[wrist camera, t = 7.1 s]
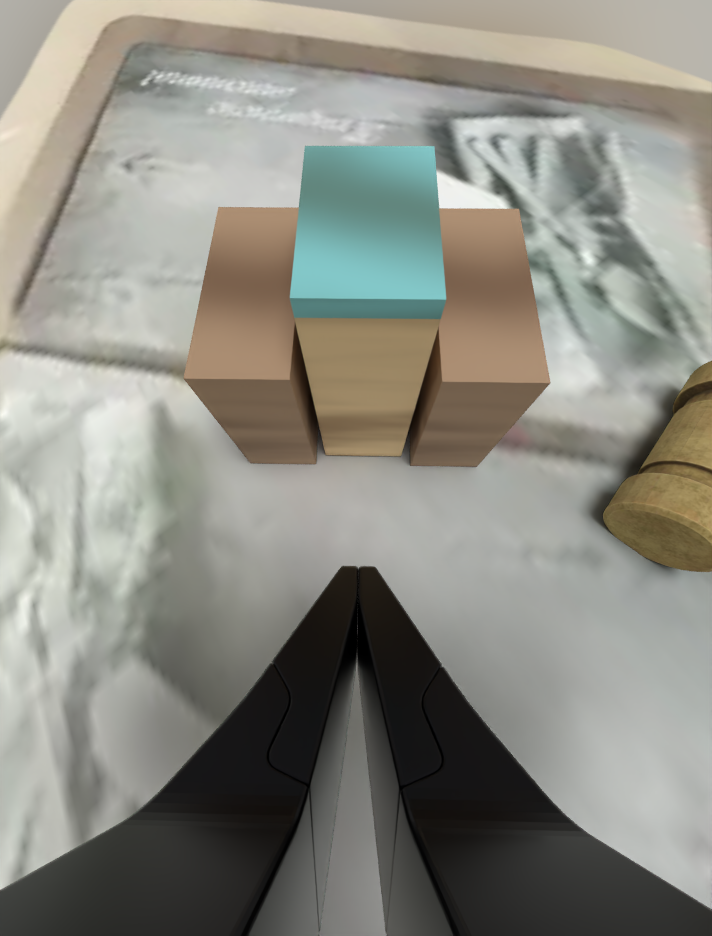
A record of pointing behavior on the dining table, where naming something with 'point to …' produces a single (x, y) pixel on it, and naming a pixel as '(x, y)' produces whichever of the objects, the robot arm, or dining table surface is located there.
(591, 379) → the dining table surface
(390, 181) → the block
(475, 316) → the socket block
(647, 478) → the gavel
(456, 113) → the dining table surface
